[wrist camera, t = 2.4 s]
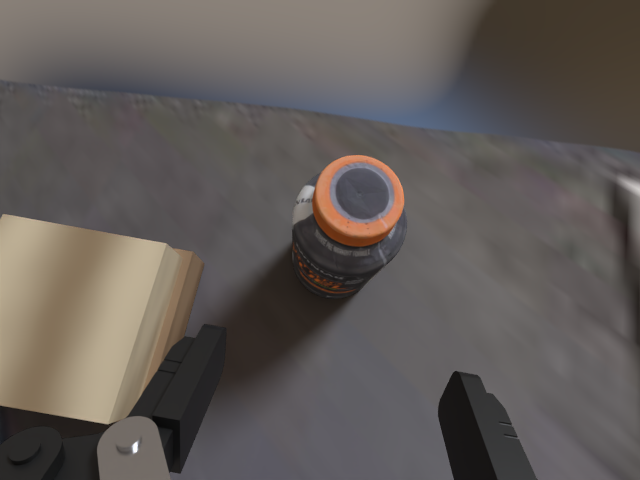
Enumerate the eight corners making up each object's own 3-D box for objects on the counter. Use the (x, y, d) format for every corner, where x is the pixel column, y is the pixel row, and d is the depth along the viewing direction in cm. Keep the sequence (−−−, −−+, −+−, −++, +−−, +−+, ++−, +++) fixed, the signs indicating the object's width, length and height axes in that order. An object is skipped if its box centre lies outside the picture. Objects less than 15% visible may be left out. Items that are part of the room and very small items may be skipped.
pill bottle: (276, 273, 25) (263, 212, 15) (317, 208, 27) (332, 111, 16) (349, 315, 25) (391, 285, 14) (386, 246, 27) (449, 172, 16)
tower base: (1, 388, 22) (-101, 400, 16) (65, 238, 25) (-2, 204, 19) (161, 416, 22) (114, 437, 16) (204, 263, 25) (178, 236, 20)
